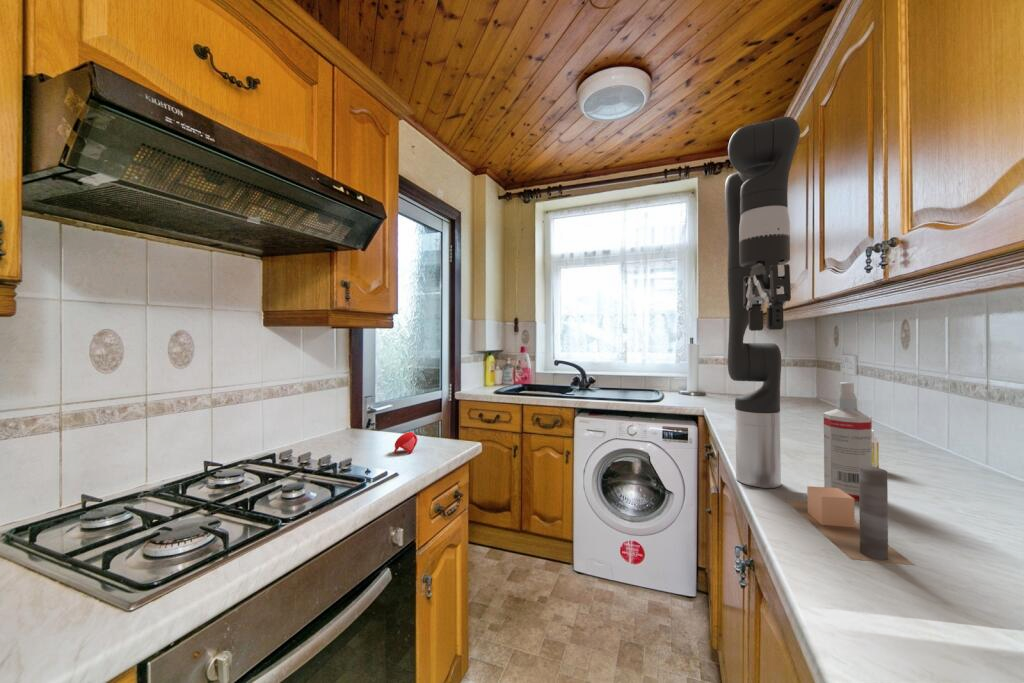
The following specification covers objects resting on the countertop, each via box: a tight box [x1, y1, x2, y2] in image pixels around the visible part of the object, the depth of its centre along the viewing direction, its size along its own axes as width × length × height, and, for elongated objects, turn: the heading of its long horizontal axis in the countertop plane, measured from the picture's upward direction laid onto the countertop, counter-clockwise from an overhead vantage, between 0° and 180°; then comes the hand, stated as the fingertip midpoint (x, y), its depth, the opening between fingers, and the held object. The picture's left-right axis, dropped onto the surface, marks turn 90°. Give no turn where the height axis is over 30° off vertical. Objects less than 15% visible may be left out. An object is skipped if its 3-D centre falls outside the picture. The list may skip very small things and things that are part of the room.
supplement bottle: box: [872, 429, 880, 468], centre depth 104 cm, size 6×6×10 cm
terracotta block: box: [806, 485, 856, 527], centre depth 73 cm, size 5×5×5 cm
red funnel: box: [393, 431, 419, 454], centre depth 127 cm, size 8×6×6 cm
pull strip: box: [785, 466, 915, 566], centre depth 70 cm, size 22×8×14 cm, turn 167°
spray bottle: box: [823, 381, 873, 502], centre depth 84 cm, size 8×8×25 cm
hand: (764, 330), depth 70 cm, fingers open, 8 cm apart
